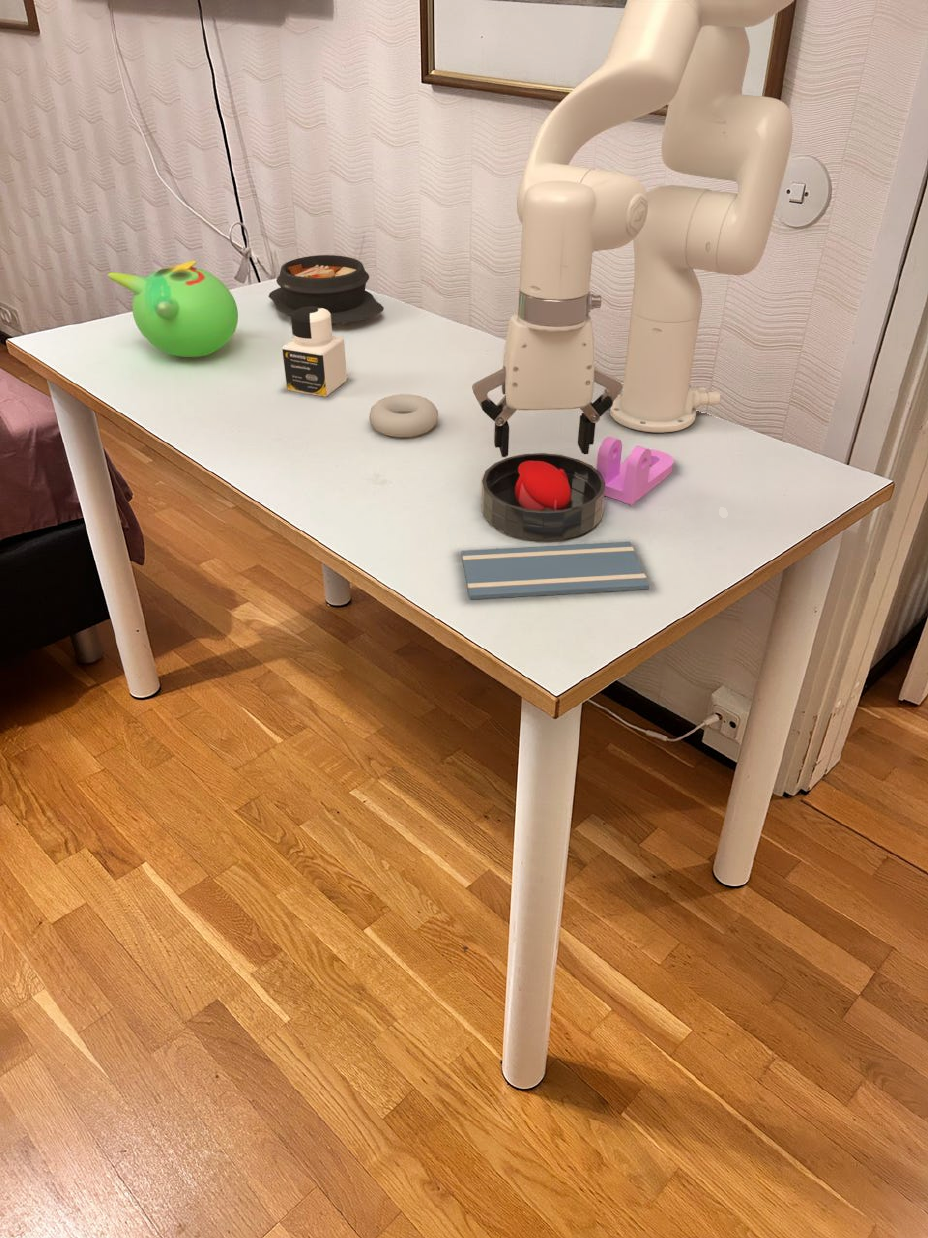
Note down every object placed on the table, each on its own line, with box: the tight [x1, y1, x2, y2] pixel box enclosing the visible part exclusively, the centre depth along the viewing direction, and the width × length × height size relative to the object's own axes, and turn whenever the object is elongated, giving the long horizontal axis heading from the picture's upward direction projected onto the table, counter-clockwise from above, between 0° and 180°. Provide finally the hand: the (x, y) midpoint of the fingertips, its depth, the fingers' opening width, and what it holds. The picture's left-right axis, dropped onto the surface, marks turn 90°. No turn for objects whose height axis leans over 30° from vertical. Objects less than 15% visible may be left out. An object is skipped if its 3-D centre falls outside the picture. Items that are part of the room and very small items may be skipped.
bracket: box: [595, 436, 675, 506], centre depth 122 cm, size 13×6×7 cm, turn 143°
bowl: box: [481, 452, 606, 542], centre depth 116 cm, size 15×15×4 cm
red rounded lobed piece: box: [515, 461, 571, 511], centre depth 115 cm, size 8×6×6 cm
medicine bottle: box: [281, 306, 348, 398], centre depth 145 cm, size 7×7×12 cm
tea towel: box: [461, 541, 650, 601], centre depth 106 cm, size 20×9×1 cm, turn 96°
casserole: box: [268, 254, 385, 325], centre depth 173 cm, size 25×19×8 cm
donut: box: [368, 393, 439, 438], centre depth 136 cm, size 10×4×10 cm
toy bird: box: [107, 260, 239, 358], centre depth 155 cm, size 18×17×15 cm
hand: (543, 450), depth 112 cm, fingers open, 9 cm apart
